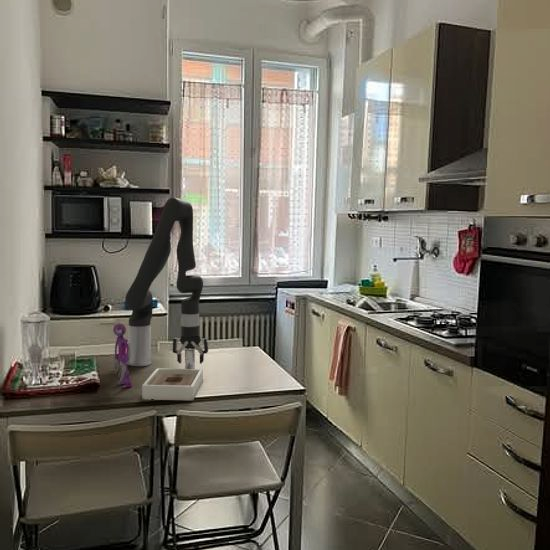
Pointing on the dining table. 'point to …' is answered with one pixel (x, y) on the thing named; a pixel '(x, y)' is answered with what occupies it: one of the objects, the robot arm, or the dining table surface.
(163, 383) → the bore plate
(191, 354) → the peg
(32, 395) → the dining table surface
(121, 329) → the toy
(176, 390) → the box
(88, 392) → the dining table surface
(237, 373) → the dining table surface
